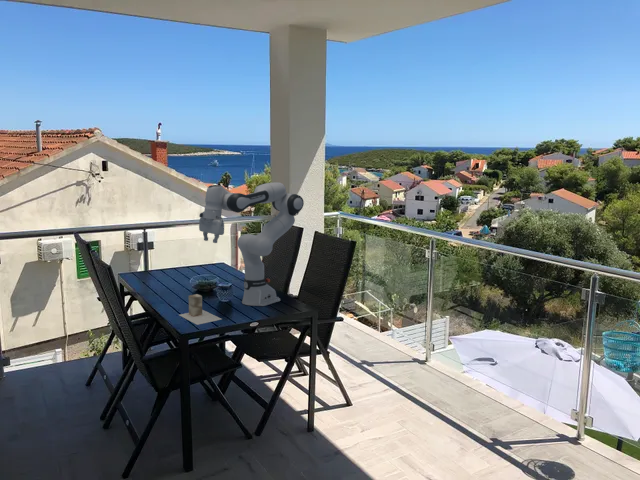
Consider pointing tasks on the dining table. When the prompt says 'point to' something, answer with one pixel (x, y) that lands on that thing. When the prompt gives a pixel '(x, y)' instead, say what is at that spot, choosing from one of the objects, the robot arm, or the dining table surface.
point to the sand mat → (201, 318)
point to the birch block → (195, 305)
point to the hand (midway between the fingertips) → (210, 241)
